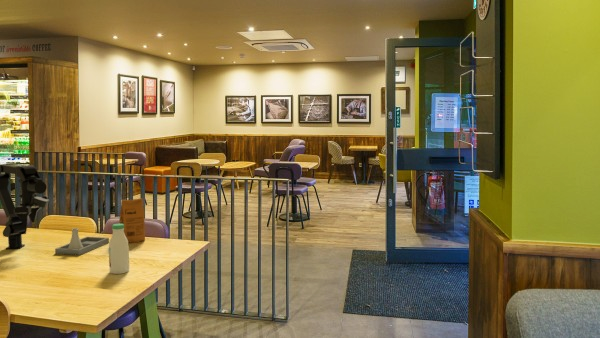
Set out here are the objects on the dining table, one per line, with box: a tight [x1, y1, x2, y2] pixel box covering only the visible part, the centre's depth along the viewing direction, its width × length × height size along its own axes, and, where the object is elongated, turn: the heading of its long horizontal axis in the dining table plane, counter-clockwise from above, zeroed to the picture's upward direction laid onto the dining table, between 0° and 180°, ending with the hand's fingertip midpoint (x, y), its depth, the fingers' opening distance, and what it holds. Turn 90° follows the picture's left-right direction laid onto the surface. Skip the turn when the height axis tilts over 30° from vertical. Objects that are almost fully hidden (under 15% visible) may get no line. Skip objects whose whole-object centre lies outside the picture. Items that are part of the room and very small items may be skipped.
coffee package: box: [118, 197, 146, 244], centre depth 249 cm, size 10×12×22 cm
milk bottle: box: [108, 223, 130, 275], centre depth 199 cm, size 8×8×20 cm
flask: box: [68, 228, 83, 250], centre depth 229 cm, size 7×7×10 cm
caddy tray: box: [54, 236, 110, 256], centre depth 235 cm, size 12×24×2 cm, turn 169°
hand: (29, 224), depth 228 cm, fingers open, 9 cm apart
